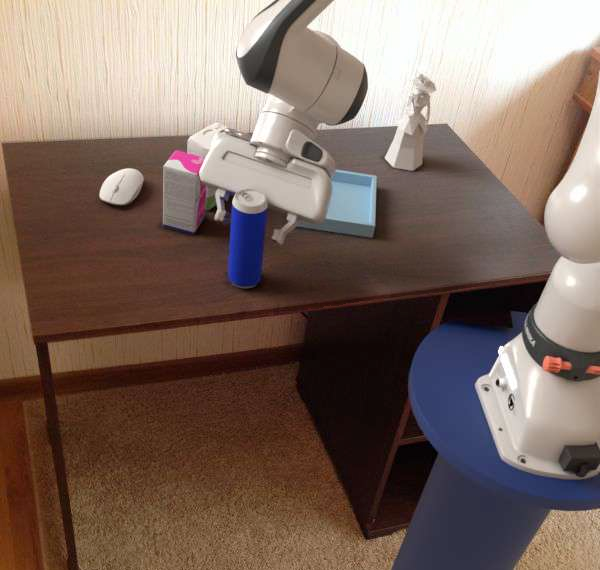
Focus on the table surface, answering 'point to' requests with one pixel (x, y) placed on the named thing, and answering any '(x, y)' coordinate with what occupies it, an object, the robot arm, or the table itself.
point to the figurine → (412, 128)
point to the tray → (350, 205)
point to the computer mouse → (121, 187)
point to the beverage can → (247, 237)
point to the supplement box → (183, 192)
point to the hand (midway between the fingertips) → (247, 232)
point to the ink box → (205, 153)
